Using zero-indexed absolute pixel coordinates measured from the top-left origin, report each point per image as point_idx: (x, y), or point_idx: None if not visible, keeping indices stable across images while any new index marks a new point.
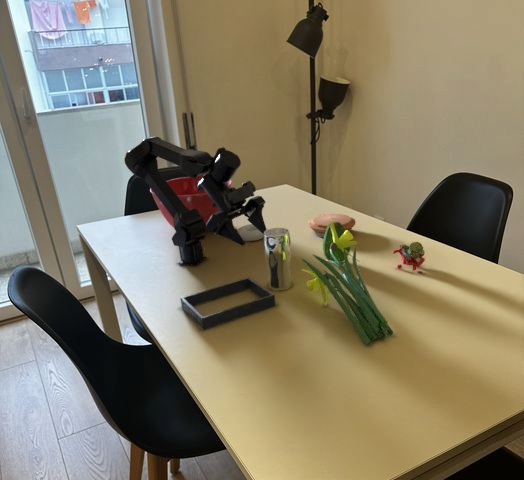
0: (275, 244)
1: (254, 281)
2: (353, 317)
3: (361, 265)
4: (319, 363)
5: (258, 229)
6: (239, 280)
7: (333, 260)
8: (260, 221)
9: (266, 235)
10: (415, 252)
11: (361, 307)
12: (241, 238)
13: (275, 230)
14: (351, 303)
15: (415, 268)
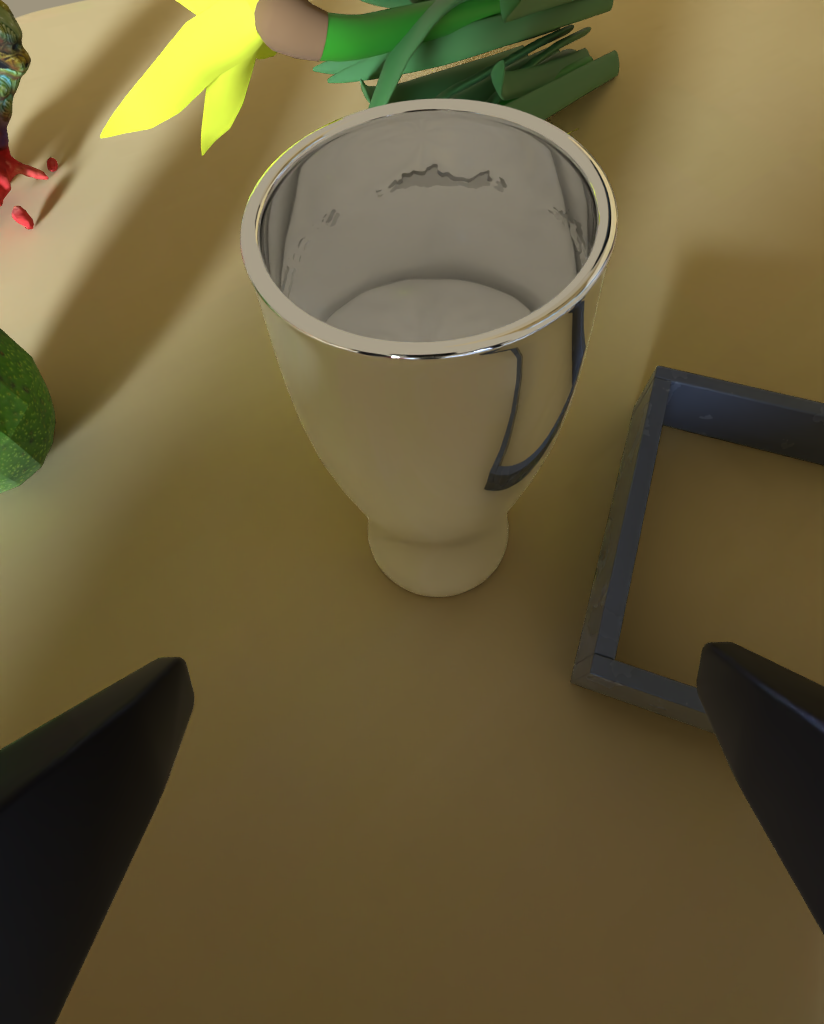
0: (554, 234)
1: (614, 579)
2: (583, 69)
3: (30, 348)
4: (798, 104)
5: (125, 864)
6: (685, 692)
7: (361, 83)
8: (4, 821)
9: (617, 222)
10: (21, 42)
11: (565, 14)
12: (788, 685)
13: (299, 337)
14: (535, 71)
15: (35, 168)
